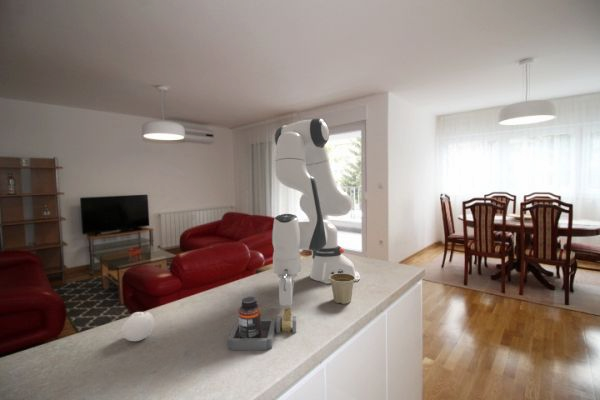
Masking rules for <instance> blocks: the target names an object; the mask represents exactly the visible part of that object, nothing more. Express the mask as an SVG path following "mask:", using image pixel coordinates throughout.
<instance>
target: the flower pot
mask: <svg viewBox="0 0 600 400" xmlns="http://www.w3.org/2000/svg"><path fill="white" fill-rule="evenodd" d="M329 279H330V282H331V283H330V284H331V290H332V295H333V301H334V302H335V303H337V304H343V305H345V304H349V303H351V302H352V295H353V287H354V284H355V281H354V280H355V276H353V275H351V274H346V273H336V274H332V275H330V276H329Z"/></svg>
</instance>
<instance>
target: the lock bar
mask: <svg viewBox="0 0 600 400" xmlns="http://www.w3.org/2000/svg"><path fill="white" fill-rule="evenodd" d="M281 318H282V319H281V331H282V332H291V331H292V319H293V310H292V308H290V309H285V308H283V313H282V317H281Z"/></svg>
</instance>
